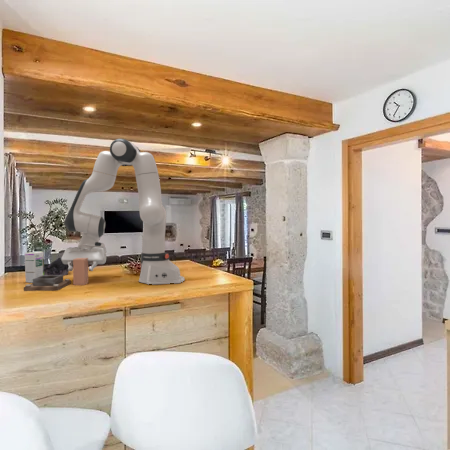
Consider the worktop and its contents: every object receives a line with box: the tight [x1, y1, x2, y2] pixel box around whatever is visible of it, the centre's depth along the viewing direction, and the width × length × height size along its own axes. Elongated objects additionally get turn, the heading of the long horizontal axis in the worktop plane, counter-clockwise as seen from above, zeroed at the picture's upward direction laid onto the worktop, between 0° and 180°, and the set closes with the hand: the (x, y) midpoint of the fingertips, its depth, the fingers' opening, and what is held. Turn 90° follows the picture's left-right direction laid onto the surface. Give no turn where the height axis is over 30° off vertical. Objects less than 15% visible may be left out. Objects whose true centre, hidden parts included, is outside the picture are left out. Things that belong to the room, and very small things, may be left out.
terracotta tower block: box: [72, 258, 89, 286], centre depth 150 cm, size 5×5×12 cm
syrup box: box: [24, 250, 45, 284], centre depth 155 cm, size 6×6×14 cm
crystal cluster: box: [44, 257, 70, 277], centre depth 173 cm, size 13×14×10 cm
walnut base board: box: [23, 275, 72, 292], centre depth 144 cm, size 14×14×4 cm
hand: (80, 270), depth 150 cm, fingers open, 8 cm apart
